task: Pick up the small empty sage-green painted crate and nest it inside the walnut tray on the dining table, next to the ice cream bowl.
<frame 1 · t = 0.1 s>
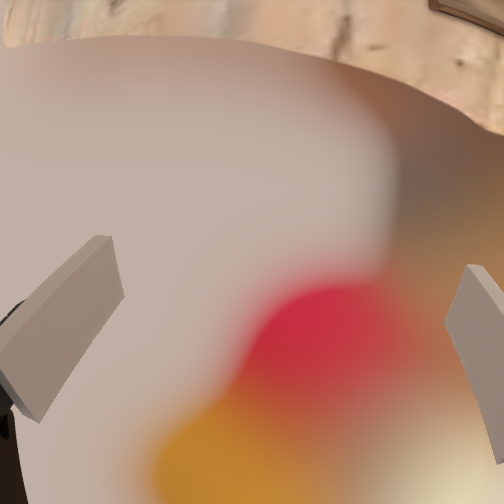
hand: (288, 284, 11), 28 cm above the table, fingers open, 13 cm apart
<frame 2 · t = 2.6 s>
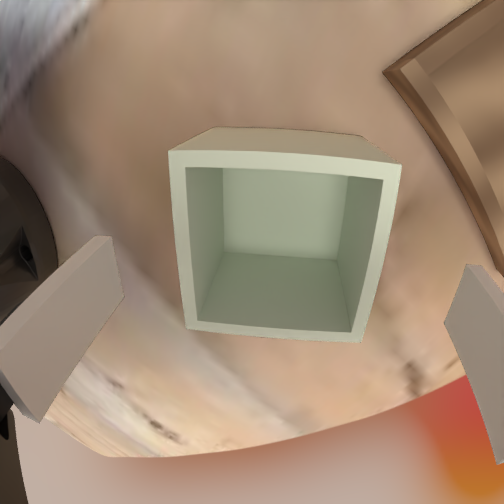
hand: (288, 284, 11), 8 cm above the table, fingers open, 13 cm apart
sage crate: (284, 198, 18), on the table
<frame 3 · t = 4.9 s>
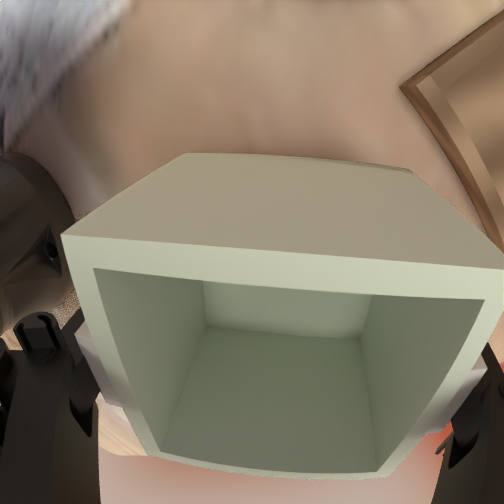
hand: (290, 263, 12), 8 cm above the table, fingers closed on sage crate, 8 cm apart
sage crate: (290, 259, 12), point 8 cm above the table, touching gripper
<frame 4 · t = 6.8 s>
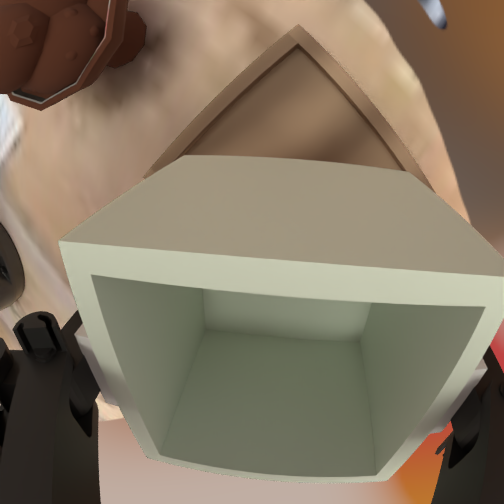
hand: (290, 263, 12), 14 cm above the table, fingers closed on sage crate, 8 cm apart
sage crate: (290, 262, 12), point 14 cm above the table, touching gripper
ice cream bowl: (119, 38, 21), on the table
walnut tray: (292, 172, 25), on the table
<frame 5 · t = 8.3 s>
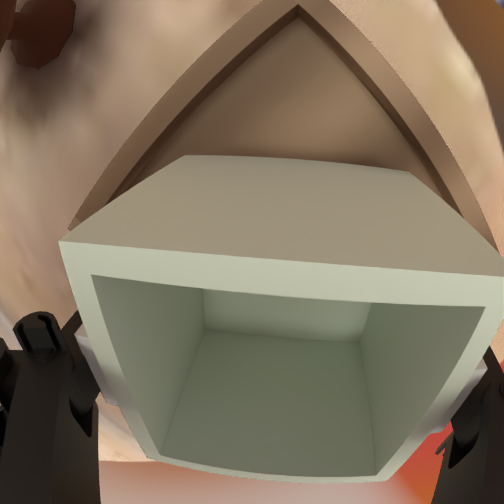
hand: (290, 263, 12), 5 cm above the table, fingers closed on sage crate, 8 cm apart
sage crate: (290, 262, 12), point 4 cm above the table, touching gripper
ice cream bowl: (44, 27, 12), on the table
walnut tray: (289, 216, 16), on the table
when the fingers open (3 cm above the table, at t = 9.1 s): sage crate drops 2 cm, resting on walnut tray.
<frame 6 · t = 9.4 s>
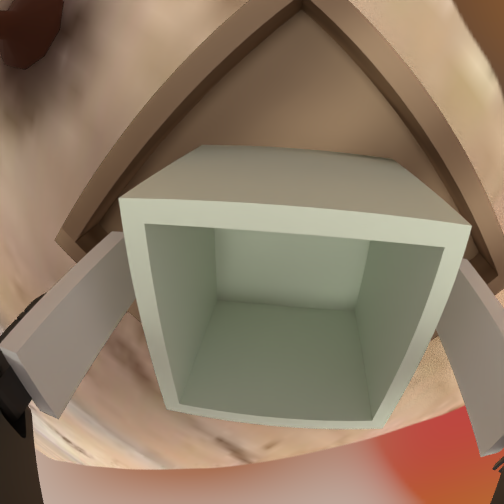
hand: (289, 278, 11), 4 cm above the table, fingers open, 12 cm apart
sage crate: (292, 237, 14), point 1 cm above the table, touching walnut tray
ice cream bowl: (31, 26, 11), on the table
walnut tray: (292, 228, 15), on the table
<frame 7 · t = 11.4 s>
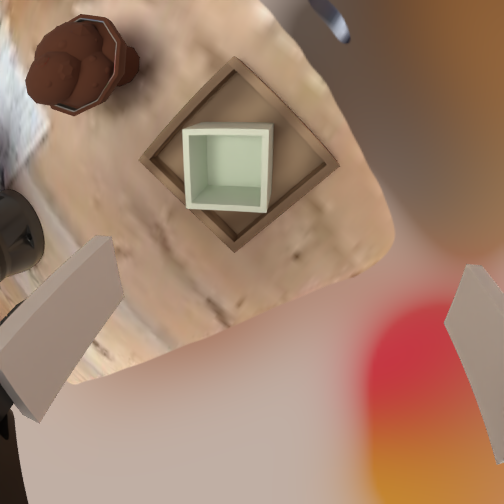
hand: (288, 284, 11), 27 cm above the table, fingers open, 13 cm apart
sage crate: (237, 156, 35), point 1 cm above the table, touching walnut tray
ice cream bowl: (121, 65, 32), on the table
walnut tray: (238, 154, 36), on the table
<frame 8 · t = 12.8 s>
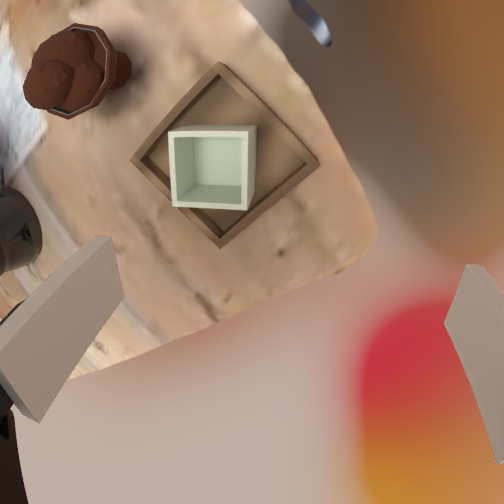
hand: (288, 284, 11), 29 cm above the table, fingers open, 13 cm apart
sage crate: (222, 156, 37), point 1 cm above the table, touching walnut tray
ice cream bowl: (114, 70, 34), on the table
walnut tray: (223, 154, 38), on the table
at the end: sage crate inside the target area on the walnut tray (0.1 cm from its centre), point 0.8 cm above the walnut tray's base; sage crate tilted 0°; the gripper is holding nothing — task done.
